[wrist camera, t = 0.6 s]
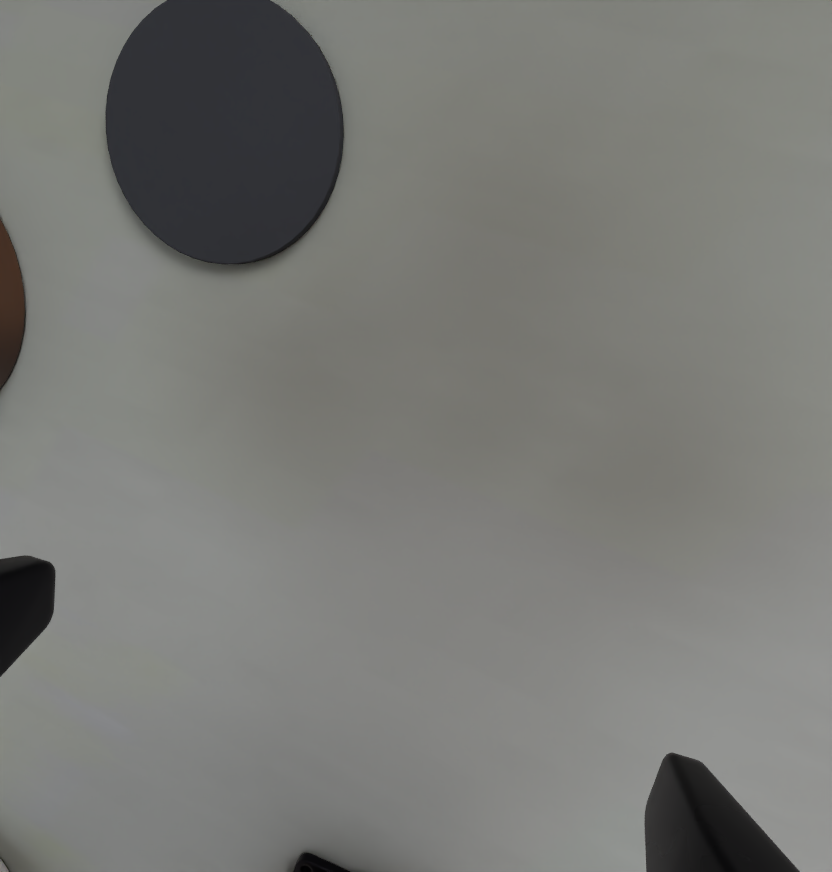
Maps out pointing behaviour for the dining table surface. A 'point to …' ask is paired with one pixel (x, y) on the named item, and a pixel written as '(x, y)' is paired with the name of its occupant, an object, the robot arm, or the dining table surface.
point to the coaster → (224, 128)
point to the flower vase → (3, 867)
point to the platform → (10, 306)
